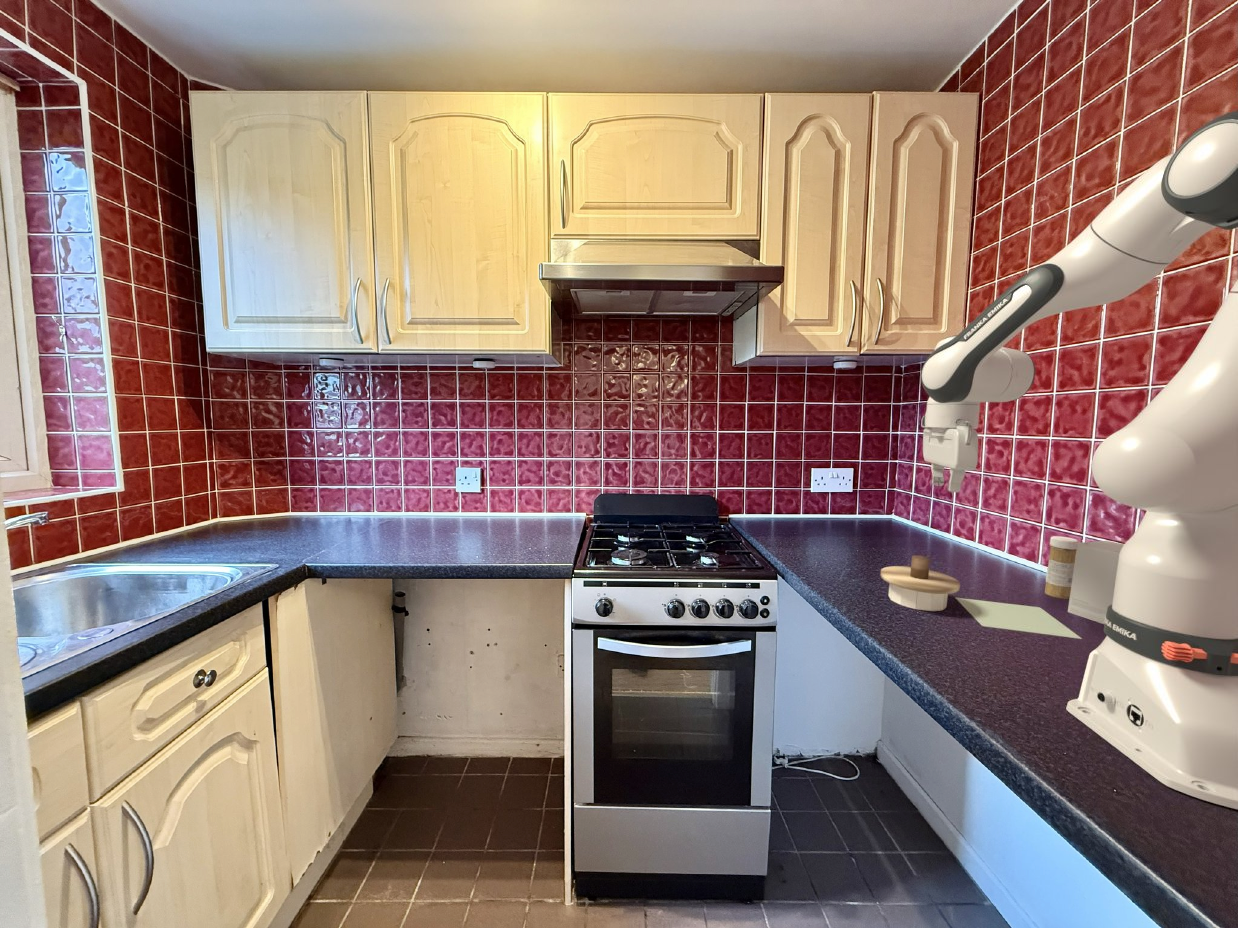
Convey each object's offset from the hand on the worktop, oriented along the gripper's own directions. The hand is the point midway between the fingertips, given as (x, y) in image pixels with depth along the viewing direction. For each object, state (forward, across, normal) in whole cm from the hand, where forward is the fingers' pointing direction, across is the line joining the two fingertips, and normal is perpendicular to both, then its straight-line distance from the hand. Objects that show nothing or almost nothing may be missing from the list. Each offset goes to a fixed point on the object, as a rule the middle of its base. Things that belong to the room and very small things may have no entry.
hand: (945, 488), depth 103 cm
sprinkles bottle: (+25, +14, -28) cm, 40 cm away
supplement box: (+25, +2, -30) cm, 39 cm away
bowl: (+24, -1, +4) cm, 25 cm away
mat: (+24, -3, -12) cm, 28 cm away
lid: (+19, -1, +4) cm, 20 cm away
